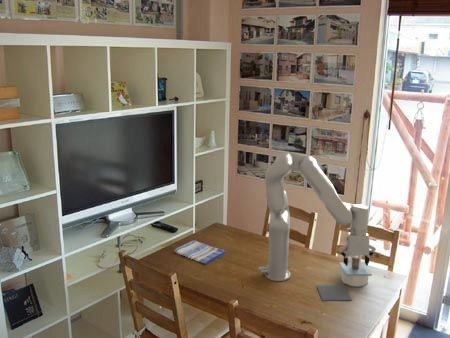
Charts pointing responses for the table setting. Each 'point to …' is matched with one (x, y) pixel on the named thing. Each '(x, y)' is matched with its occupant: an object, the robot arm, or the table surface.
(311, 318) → the table surface
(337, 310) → the table surface
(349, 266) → the cover
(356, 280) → the bowl
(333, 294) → the mat
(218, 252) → the dish towel
